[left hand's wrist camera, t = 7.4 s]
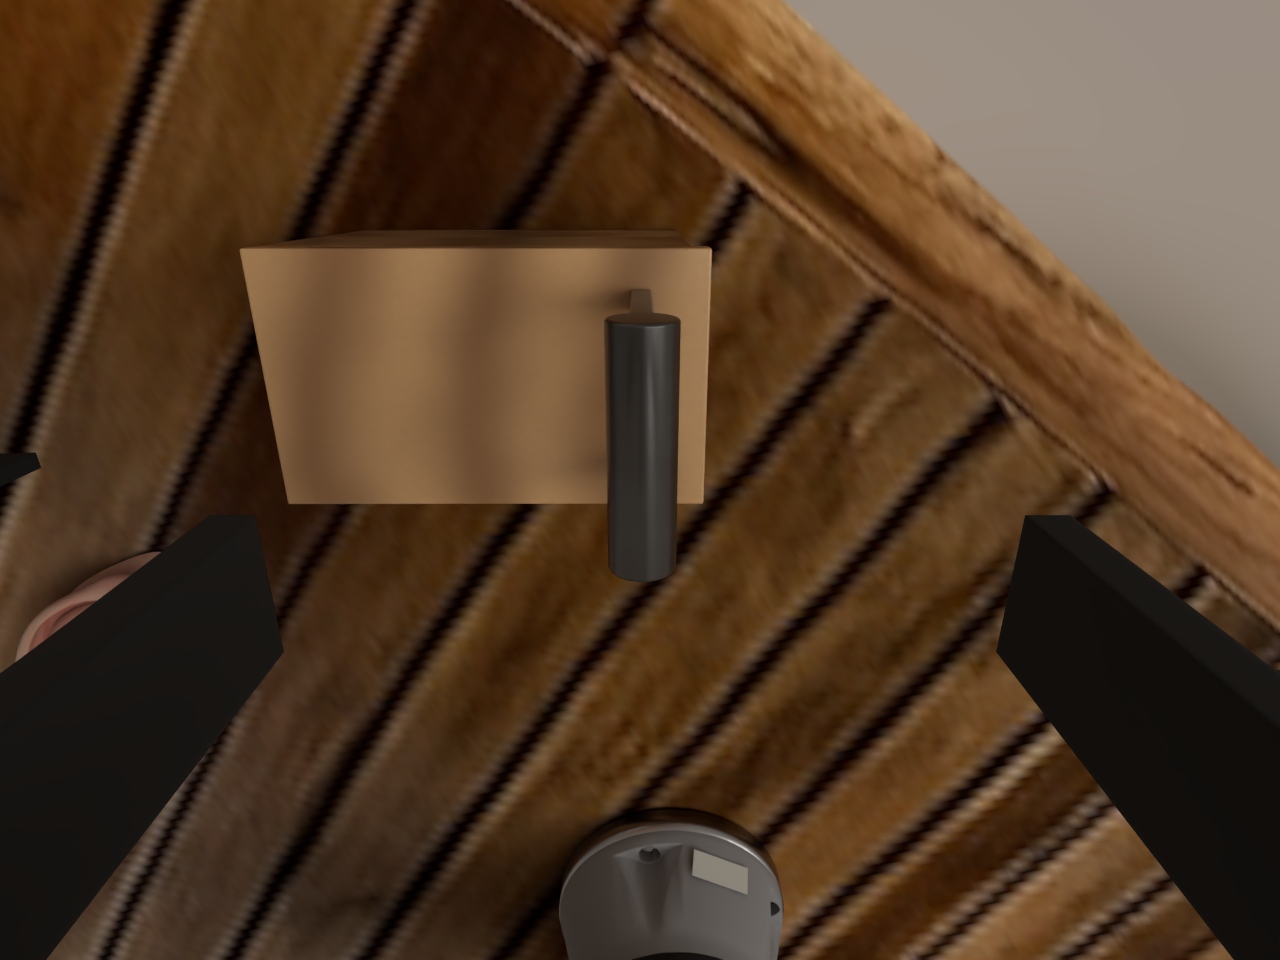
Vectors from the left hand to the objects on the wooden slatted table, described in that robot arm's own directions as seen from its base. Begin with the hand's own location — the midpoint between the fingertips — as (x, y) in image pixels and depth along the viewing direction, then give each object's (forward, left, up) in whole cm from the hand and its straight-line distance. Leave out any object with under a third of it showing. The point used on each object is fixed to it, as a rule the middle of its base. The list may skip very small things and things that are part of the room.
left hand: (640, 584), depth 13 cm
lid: (-3, +5, -15) cm, 16 cm away
